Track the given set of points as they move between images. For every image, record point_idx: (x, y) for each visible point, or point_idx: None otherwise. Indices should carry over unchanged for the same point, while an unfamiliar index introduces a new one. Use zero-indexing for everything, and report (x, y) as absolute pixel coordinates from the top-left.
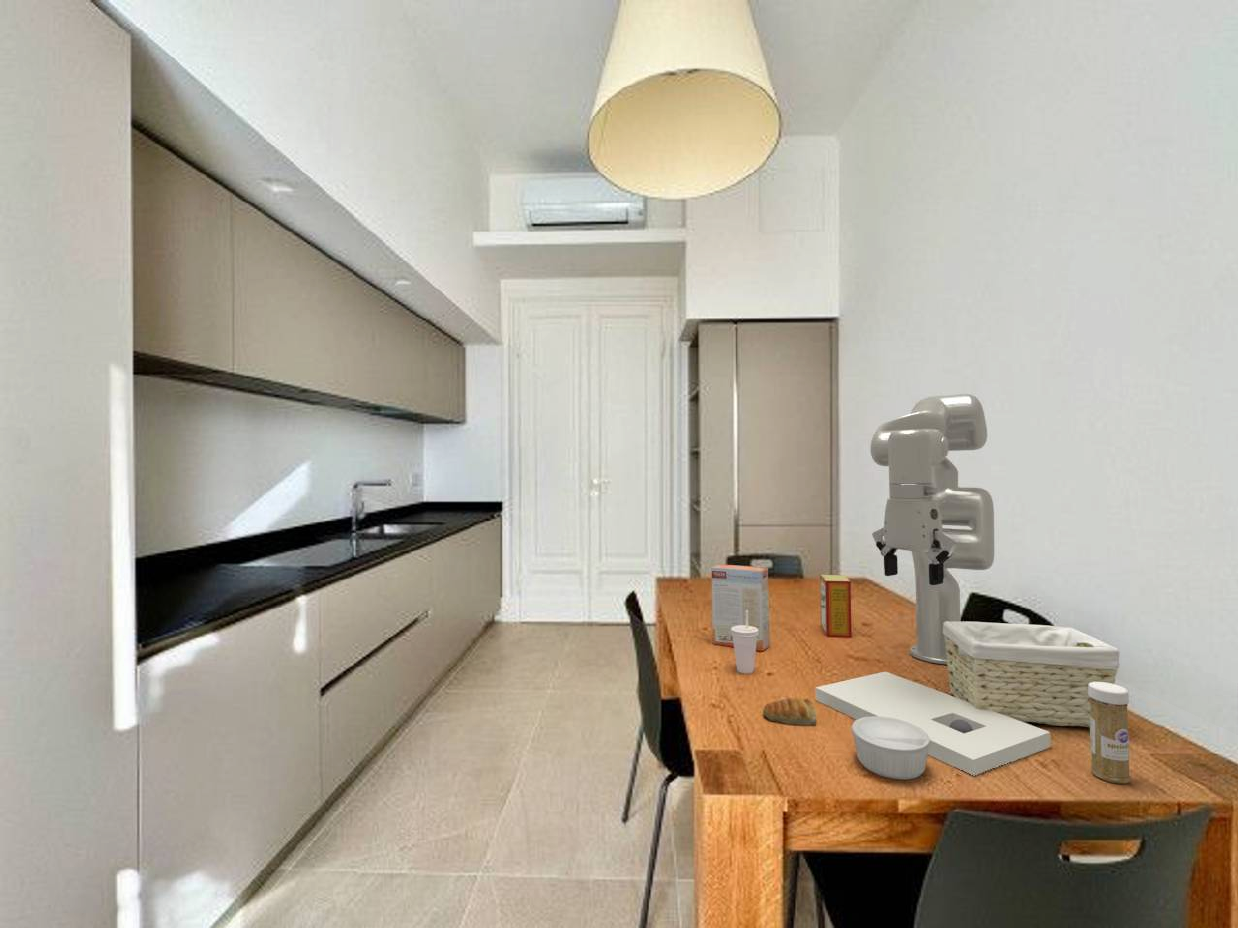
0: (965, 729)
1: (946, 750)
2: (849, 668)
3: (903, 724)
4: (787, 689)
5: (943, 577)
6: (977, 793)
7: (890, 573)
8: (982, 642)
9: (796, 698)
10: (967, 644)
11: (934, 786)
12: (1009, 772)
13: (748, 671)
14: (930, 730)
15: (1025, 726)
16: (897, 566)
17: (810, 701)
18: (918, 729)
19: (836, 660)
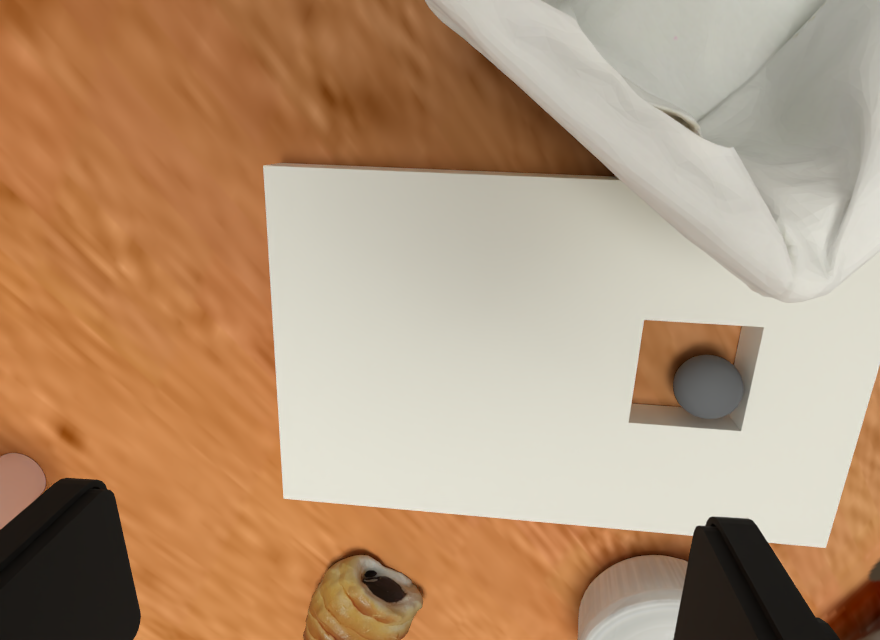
0: (734, 409)
1: None
2: (106, 148)
3: (671, 621)
4: (200, 481)
5: (830, 634)
6: (840, 575)
7: (119, 606)
8: (839, 259)
9: (344, 621)
10: (740, 274)
11: None
12: None
13: (41, 487)
14: (669, 486)
15: None
16: (38, 555)
17: (384, 617)
18: None
19: (10, 114)
